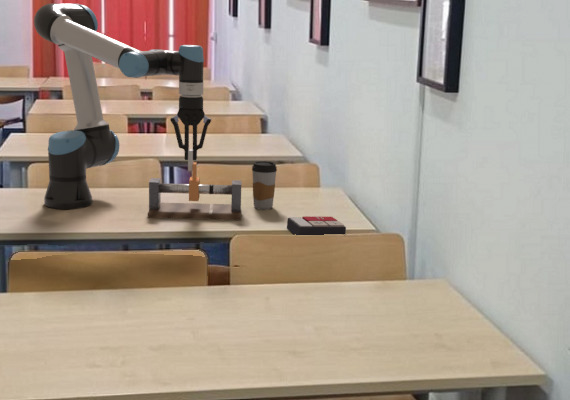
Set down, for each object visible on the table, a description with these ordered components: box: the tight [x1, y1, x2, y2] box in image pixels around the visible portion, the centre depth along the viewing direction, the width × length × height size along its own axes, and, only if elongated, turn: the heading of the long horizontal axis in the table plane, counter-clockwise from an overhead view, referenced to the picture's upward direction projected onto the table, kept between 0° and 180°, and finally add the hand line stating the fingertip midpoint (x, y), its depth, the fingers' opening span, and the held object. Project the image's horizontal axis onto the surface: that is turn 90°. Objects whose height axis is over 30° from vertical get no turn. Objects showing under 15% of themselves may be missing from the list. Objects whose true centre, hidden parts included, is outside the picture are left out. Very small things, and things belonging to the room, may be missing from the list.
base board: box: [147, 202, 242, 221], centre depth 263 cm, size 29×14×2 cm, turn 93°
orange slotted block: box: [188, 161, 201, 202], centre depth 261 cm, size 3×6×11 cm, turn 3°
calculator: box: [286, 216, 347, 235], centre depth 247 cm, size 11×4×15 cm
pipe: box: [148, 177, 242, 213], centre depth 262 cm, size 29×6×9 cm, turn 93°
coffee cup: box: [251, 160, 278, 210], centre depth 272 cm, size 8×8×15 cm
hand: (190, 170), depth 260 cm, fingers closed
